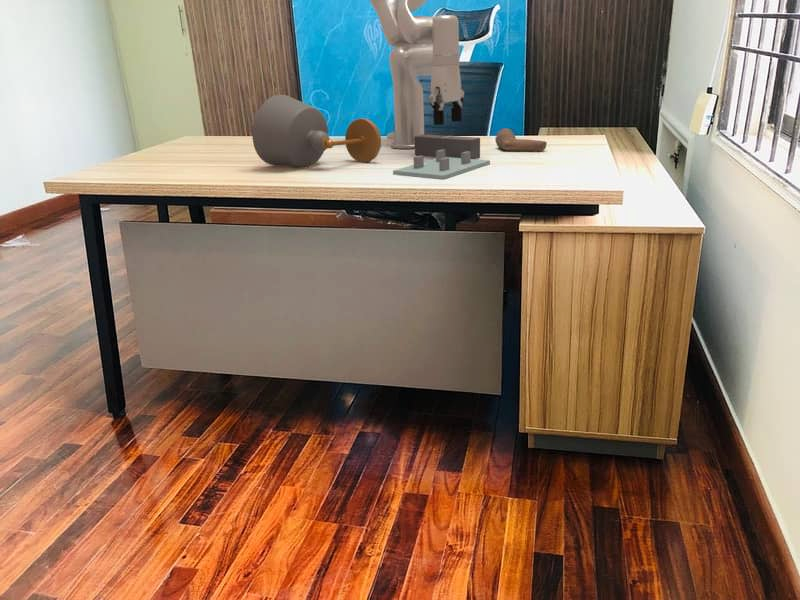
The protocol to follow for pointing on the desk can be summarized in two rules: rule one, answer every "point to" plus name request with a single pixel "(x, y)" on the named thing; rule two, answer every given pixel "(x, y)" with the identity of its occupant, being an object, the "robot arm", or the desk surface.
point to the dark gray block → (446, 145)
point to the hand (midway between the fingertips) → (447, 122)
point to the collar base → (441, 166)
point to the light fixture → (306, 134)
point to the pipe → (517, 142)
